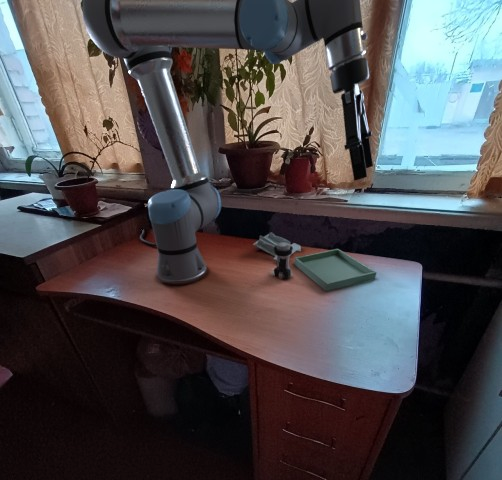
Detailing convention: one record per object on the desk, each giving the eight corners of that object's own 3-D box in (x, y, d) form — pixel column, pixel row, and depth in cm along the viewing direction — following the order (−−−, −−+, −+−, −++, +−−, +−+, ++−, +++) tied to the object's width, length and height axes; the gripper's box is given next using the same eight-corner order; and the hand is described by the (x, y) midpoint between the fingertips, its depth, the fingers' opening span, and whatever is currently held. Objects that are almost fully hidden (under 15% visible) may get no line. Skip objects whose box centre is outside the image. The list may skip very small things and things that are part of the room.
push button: (266, 277, 94) (266, 245, 87) (275, 270, 97) (275, 239, 91) (286, 282, 91) (287, 249, 85) (294, 274, 94) (296, 242, 88)
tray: (294, 264, 100) (294, 257, 99) (337, 255, 104) (338, 248, 103) (326, 291, 86) (327, 283, 84) (374, 279, 90) (376, 272, 88)
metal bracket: (248, 240, 102) (271, 226, 112) (245, 255, 106) (267, 240, 116) (285, 259, 99) (305, 243, 108) (280, 274, 103) (300, 257, 112)
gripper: (358, 48, 54) (376, 178, 63) (372, 59, 72) (384, 159, 82) (316, 70, 57) (339, 189, 67) (339, 75, 75) (355, 168, 85)
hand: (364, 173), depth 74 cm, fingers open, 13 cm apart
